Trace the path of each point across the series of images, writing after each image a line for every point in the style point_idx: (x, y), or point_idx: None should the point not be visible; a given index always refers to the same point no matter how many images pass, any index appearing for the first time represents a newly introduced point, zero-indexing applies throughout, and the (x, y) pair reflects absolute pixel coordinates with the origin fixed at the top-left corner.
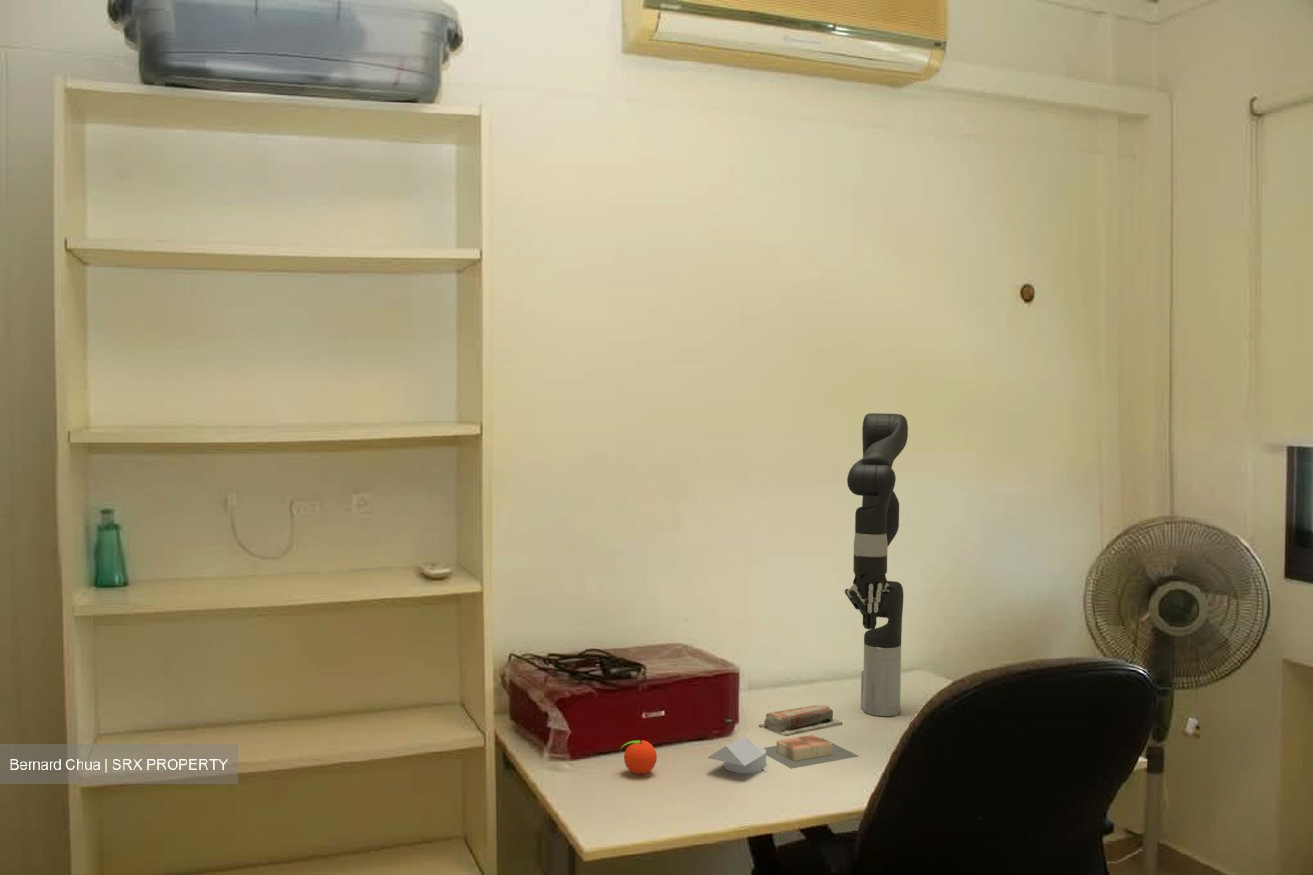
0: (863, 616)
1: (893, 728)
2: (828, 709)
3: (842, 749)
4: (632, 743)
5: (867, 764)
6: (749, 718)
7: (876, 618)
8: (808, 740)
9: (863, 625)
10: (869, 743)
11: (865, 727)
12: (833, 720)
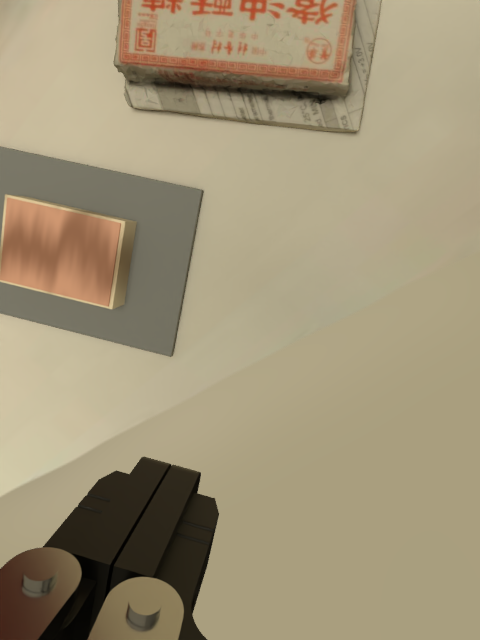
0: (57, 539)
1: (468, 251)
2: (329, 81)
3: (174, 296)
4: None
5: (155, 394)
6: None
7: (193, 609)
8: (74, 252)
9: (112, 476)
10: (288, 297)
11: (407, 187)
12: (350, 96)
